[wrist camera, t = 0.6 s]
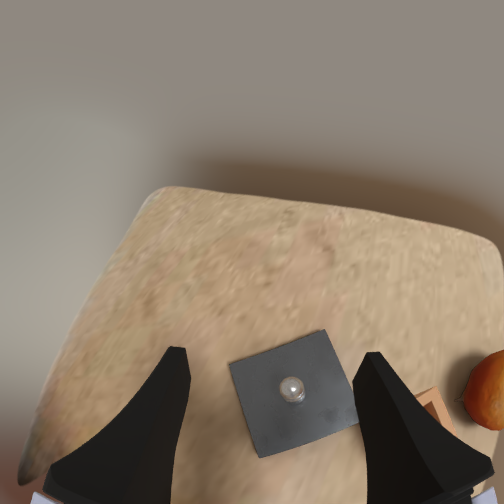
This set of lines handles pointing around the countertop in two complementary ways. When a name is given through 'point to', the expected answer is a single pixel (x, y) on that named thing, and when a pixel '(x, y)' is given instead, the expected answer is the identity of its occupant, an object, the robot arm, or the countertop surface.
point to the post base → (294, 418)
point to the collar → (436, 407)
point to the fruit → (486, 392)
